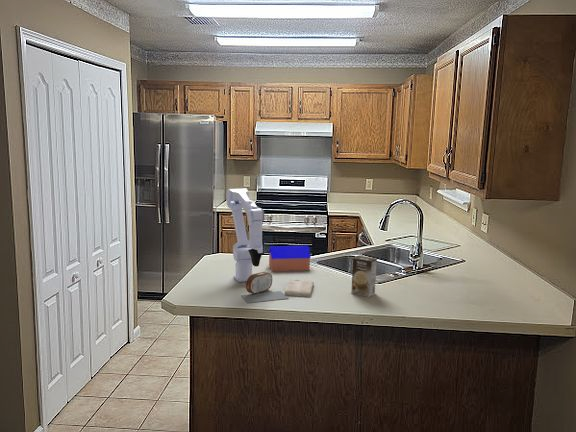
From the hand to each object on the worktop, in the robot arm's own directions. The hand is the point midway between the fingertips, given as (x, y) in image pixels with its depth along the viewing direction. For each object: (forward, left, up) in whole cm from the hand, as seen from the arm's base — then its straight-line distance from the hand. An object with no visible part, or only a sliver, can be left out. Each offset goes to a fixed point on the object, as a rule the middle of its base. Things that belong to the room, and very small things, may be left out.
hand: (255, 265), depth 229 cm
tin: (+6, 0, -10) cm, 12 cm away
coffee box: (+21, +43, -11) cm, 49 cm away
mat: (+13, 0, -10) cm, 17 cm away
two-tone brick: (-28, +27, -11) cm, 40 cm away
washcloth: (+8, +18, -11) cm, 23 cm away
